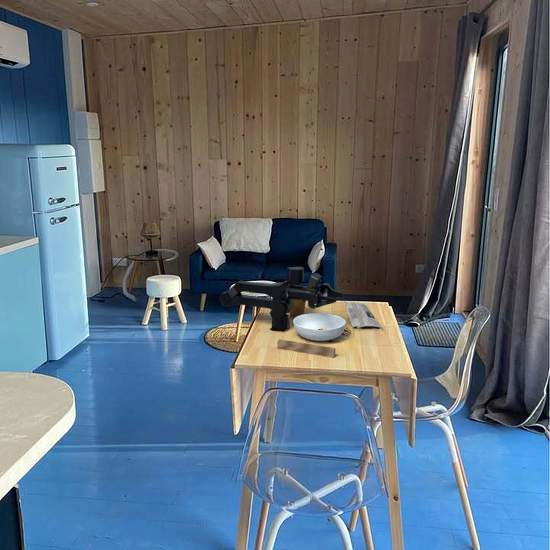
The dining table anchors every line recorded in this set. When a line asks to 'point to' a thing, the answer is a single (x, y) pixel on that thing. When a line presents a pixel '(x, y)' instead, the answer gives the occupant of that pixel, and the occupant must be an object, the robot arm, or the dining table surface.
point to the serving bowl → (319, 326)
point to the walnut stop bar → (306, 348)
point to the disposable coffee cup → (297, 308)
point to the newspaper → (361, 316)
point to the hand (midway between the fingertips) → (339, 297)
